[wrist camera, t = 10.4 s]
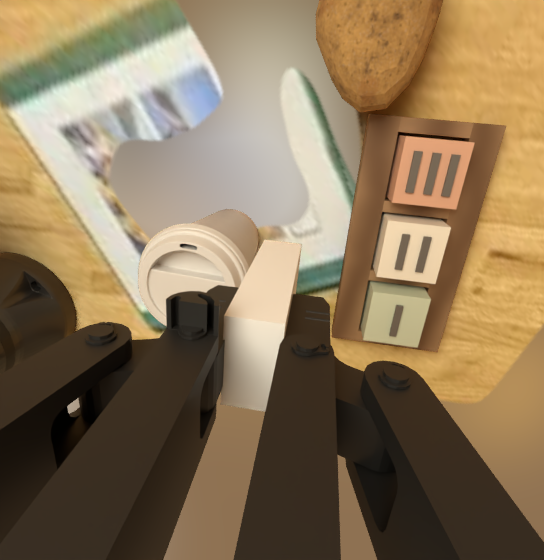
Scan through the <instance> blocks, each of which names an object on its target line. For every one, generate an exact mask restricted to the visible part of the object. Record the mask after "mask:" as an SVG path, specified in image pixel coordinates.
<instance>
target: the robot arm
mask: <svg viewBox="0 0 544 560" xmlns="http://www.w3.org/2000/svg"><path fill="white" fill-rule="evenodd" d="M301 245H302V244H297V243H289V242H281V241H272V240H264V242H263V243H262V245H261V247H260V249H259V251H258V253H257V255H256V257H255V258H254V260H253V262H252V264H251V266H250V268H249V270H248V272H247V273H246V275H245V277H244V279H243V281H242V283H241V285H240V287H239V288H238V287H230V286H223V285H217V286H215V287H214V288H212V289H210V290H208V291H207V293H205V292H201V291H186V292H179V293H176V294H173V295H171V296H169V297H168V298H167V299H166V321H167V329H166V330H165V331H164V333H163V334H162V335H161V337H160V338H158V339H146V340H132V336H131V331H130V330H129V328H128V327H126V326H124V325H122V324H118V323H112V322H107V323H105V322H102V323H98V324H93V325H89V326H87V327H84V328H82V329H80V330H78V331H76V332H74V330H75V326H76V314H75V309H74V305H73V302H72V300H71V297H70V295H69V293H68V292H67V290H66V288H65V287H64V285H63V284H62V283H61V282H60V280H59V279H58V278H57V277H56V276H55V275H54V274H53V273H52V272H51V271H50V270H48V269H47V268H46V267H45V266H43V265H42V264H40V263H38V262H37V261H35V260H33V259H31V258H29V257H26V256H23V255H20V254H15V253H0V560H163V558H164V556H165V553H166V550H167V548H168V545H169V542H170V540H171V537H172V534H173V532H174V529H175V526H176V524H177V521H178V518H179V515H180V513H181V510H182V507H183V505H184V502H185V499H186V497H187V494H188V491H189V488H190V486H191V483H192V481H193V478H194V475H195V472H196V470H197V467H198V464H199V462H200V459H201V456H202V454H203V451H204V448H205V445H206V443H207V440H208V437H209V435H210V432H211V429H212V427H213V424H214V421H215V418H216V402H217V399H218V397H219V394H220V392H221V404H222V405H228V406H234V407H240V408H246V409H252V410H258V411H265V416H264V421H263V425H262V430H261V434H260V439H259V444H258V448H257V453H256V458H255V462H254V467H253V472H252V477H251V481H250V486H249V490H248V495H247V500H246V504H245V509H244V513H243V519H242V523H241V528H240V532H239V537H238V541H237V547H236V551H235V555H234V560H341V554H340V526H339V525H340V524H339V523H340V522H339V493H338V460H337V454H338V455H340V456H342V457H344V458H345V459H346V467H347V470H348V473H349V476H350V479H351V482H352V485H353V488H354V491H355V494H356V497H357V500H358V503H359V506H360V509H361V512H362V515H363V518H364V521H365V524H366V527H367V530H368V533H369V536H370V539H371V542H372V545H373V548H374V551H375V553H376V557H377V560H544V542H543V541H542V539H541V538H540V537H539V535H538V534H537V533H536V531H535V530H534V529H533V528H532V526H531V524H530V523H529V522H528V521H527V519H526V518H525V516H524V515H523V514H522V513H521V511H520V510H519V508H518V507H517V506H516V504H515V503H514V501H513V500H512V499H511V497H510V496H509V495H508V493H507V492H506V491H505V489H504V488H503V486H502V485H501V484H500V483H499V481H498V480H497V479H496V477H495V476H494V474H493V473H492V472H491V470H490V469H489V468H488V466H487V465H486V463H485V462H484V461H483V459H482V458H481V457H480V455H479V454H478V453H477V451H476V450H475V449H474V448H473V446H472V444H471V443H470V442H469V440H468V439H467V438H466V436H465V435H464V434H463V432H462V431H461V430H460V428H459V427H458V426H457V424H456V423H455V422H454V420H453V419H452V418H451V416H450V415H449V413H448V412H447V411H446V409H445V408H444V407H443V405H442V404H441V402H440V401H439V400H438V398H437V397H436V396H435V394H434V393H433V392H432V390H431V389H430V388H429V386H428V385H427V383H426V382H425V381H424V379H423V378H422V377H421V376H420V375H419V374H418V373H417V372H416V371H414V370H412V369H410V368H409V367H407V366H405V365H402V364H399V363H396V362H390V361H377V362H373V363H371V364H369V365H367V367H366V369H365V371H364V372H363V371H361V370H358V369H355V368H353V367H350V366H348V365H346V364H344V363H343V362H341V361H339V360H338V359H337V358H336V357H335V356H334V351H333V348H332V346H331V345H330V305H329V304H328V303H327V302H326V301H325V299H324V298H322V297H314V296H307V295H299V294H296V287H297V278H298V270H299V262H300V253H301ZM78 397H79V404H80V408H78V409H77V410H76V411H75V412H72V413H70V414H69V413H68V409H67V406H68V405H69V404H70V403H72V402H73V401H74V400H76V399H77V398H78Z"/></svg>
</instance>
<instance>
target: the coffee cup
mask: <svg viewBox="0 0 544 560" xmlns="http://www.w3.org/2000/svg"><path fill="white" fill-rule="evenodd" d="M258 243H259V235H258V231H257V228H256V226H255V224H254V222H253V221H252V220H251V219H250V218H249V217H248V216H247V215H246V214H244V213H242V212H240V211H237V210H233V209H225V210H221V211H218V212H216V213H214V214H211V215H209V216H207V217H205V218H203V219H200V220H198V221H196V222H194V223H191V224H178V225H174V226H171V227H168V228H166V229H164V230H162V231H160V232H159V233H158V234H156V235H155V236H154V237H153V238H152V239H151V240H150V241H149V243H148V244H147V245H146V247H145V249H144V251H143V253H142V256H141V258H140V262H139V269H138V286H139V291H140V295H141V298H142V300H143V302H144V304H145V306H146V308H147V309H148V310H149V312H150V313H151V314H152V315H153V316H154V317H155V318H156V319H157V320H158V321H159V322H161V323H162V324H164V325H165V326H167V321H166V299H167V298H168V297H169V296H171V295H173V294H176V293H179V292H186V291H201V292H205V293H207V291H208V290H210V289H212V288H214V287H215V286H217V285H223V286H230V287H238V288H239V287H240V285H241V283H242V281H243V279H244V277H245V275H246V273H247V272H248V270H249V268H250V266H251V264H252V262H253V260H254V258H255V254H256V251H257V247H258Z"/></svg>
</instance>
